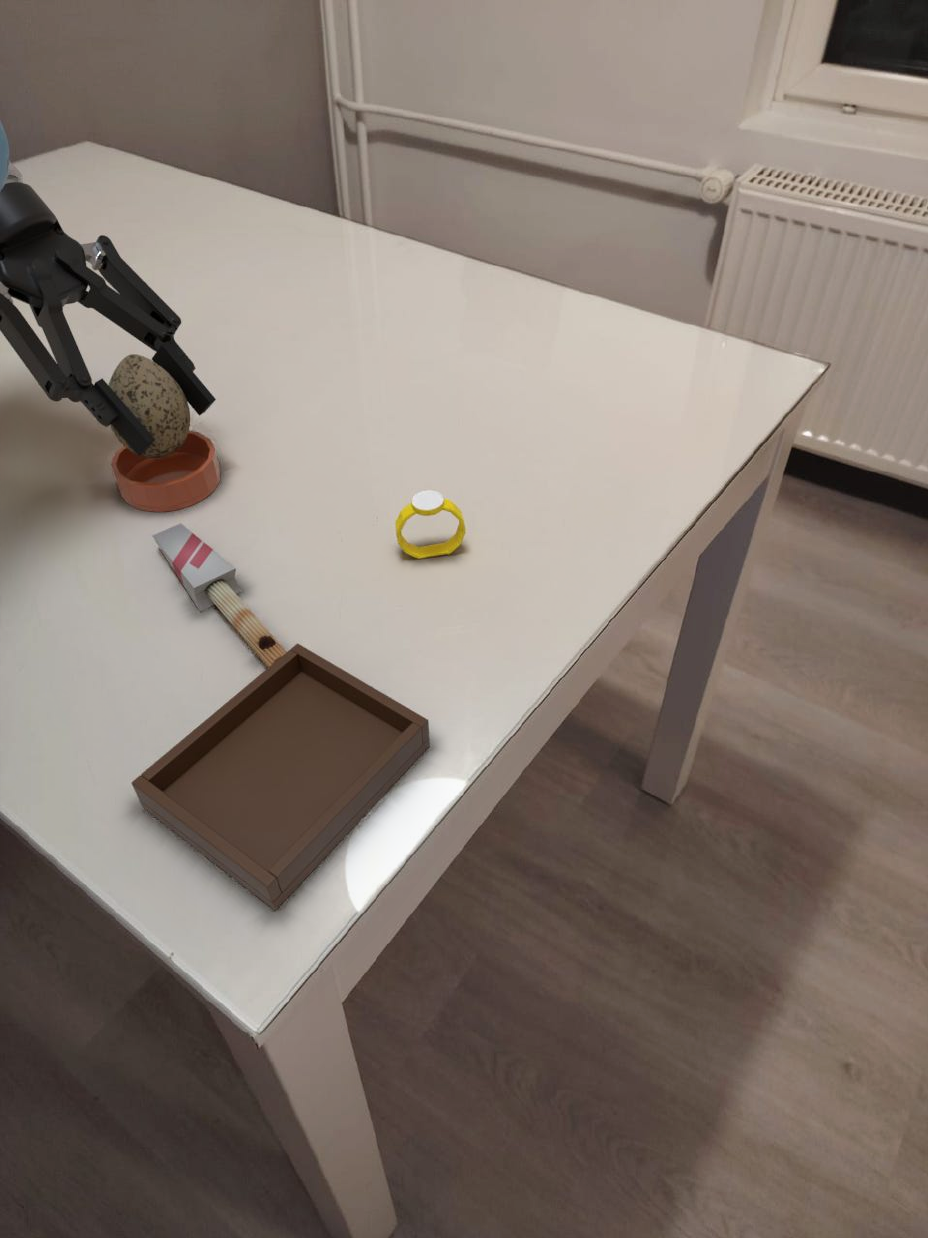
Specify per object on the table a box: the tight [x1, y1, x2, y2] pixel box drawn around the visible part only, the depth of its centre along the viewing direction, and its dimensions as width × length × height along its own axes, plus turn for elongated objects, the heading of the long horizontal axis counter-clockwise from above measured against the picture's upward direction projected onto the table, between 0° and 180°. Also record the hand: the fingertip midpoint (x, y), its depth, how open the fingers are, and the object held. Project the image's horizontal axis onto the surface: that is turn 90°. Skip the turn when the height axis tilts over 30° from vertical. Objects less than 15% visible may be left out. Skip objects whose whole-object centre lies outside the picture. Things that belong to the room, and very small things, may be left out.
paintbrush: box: [152, 523, 288, 668], centre depth 72 cm, size 4×3×20 cm
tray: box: [131, 643, 431, 911], centre depth 60 cm, size 16×13×3 cm
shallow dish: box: [110, 429, 221, 513], centre depth 84 cm, size 10×10×3 cm
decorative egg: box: [108, 353, 191, 458], centre depth 79 cm, size 7×7×10 cm
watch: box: [395, 489, 467, 560], centre depth 75 cm, size 6×3×6 cm, turn 100°
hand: (178, 426), depth 79 cm, fingers closed on decorative egg, 7 cm apart
